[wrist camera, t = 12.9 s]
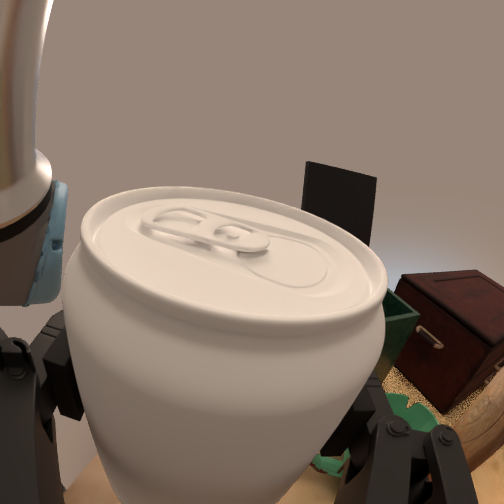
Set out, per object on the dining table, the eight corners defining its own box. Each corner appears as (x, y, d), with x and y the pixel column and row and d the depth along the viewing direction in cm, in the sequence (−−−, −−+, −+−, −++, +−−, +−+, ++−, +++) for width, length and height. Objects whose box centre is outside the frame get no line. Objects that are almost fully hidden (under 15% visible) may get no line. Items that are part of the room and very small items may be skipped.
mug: (387, 443, 32) (426, 393, 29) (401, 503, 23) (454, 460, 20) (280, 437, 32) (307, 384, 28) (278, 508, 23) (313, 468, 19)
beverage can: (254, 564, 8) (455, 403, 3) (78, 491, 9) (-19, 232, 4) (290, 435, 15) (382, 229, 10) (154, 387, 16) (170, 172, 12)
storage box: (444, 429, 34) (501, 354, 29) (362, 343, 53) (394, 271, 47) (514, 364, 51) (545, 312, 45) (456, 316, 70) (479, 267, 64)
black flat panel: (377, 177, 47) (373, 177, 47) (308, 161, 41) (305, 161, 42) (366, 266, 49) (362, 265, 50) (297, 266, 43) (294, 265, 44)
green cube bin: (381, 383, 44) (420, 314, 38) (313, 405, 38) (352, 327, 33) (337, 334, 55) (363, 268, 50) (272, 343, 49) (294, 269, 44)
